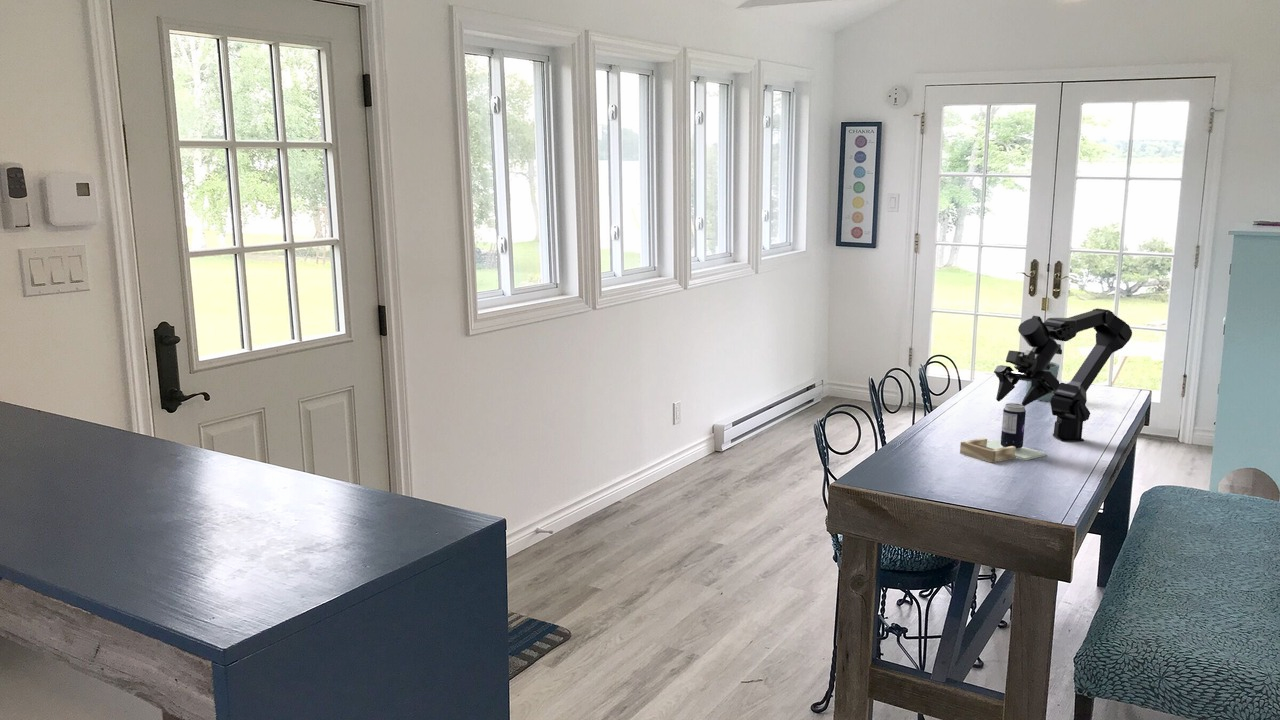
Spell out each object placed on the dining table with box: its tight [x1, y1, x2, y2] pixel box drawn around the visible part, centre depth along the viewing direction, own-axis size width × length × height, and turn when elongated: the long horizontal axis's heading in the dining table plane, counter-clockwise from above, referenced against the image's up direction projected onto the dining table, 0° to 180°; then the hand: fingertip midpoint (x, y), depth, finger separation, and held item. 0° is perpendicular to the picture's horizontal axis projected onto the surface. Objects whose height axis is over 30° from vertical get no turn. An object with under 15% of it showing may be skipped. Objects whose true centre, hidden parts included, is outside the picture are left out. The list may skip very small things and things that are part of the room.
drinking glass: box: [1025, 361, 1060, 402], centre depth 329 cm, size 10×10×12 cm
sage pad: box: [987, 439, 1048, 461], centre depth 267 cm, size 9×16×1 cm, turn 32°
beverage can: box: [1000, 402, 1027, 450], centre depth 266 cm, size 6×6×12 cm
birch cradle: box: [959, 437, 1016, 463], centre depth 261 cm, size 9×10×3 cm
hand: (1010, 402), depth 265 cm, fingers open, 9 cm apart
